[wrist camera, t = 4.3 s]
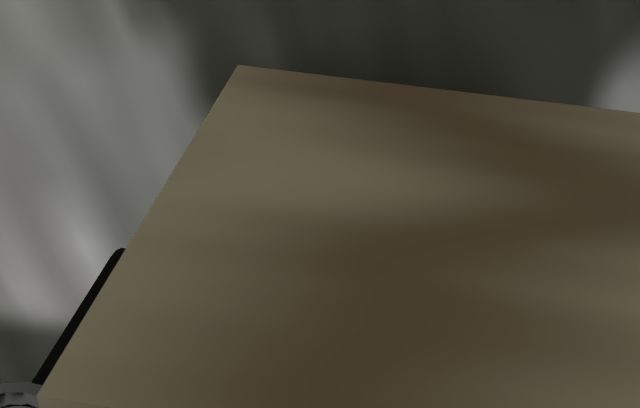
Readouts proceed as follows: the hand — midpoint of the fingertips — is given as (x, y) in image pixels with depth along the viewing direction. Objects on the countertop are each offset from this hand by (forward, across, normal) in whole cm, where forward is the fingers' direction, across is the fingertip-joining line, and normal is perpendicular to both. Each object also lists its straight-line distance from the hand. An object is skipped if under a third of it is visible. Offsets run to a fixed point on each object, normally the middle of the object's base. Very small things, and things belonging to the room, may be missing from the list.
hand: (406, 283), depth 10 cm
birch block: (+1, 0, 0) cm, 1 cm away
